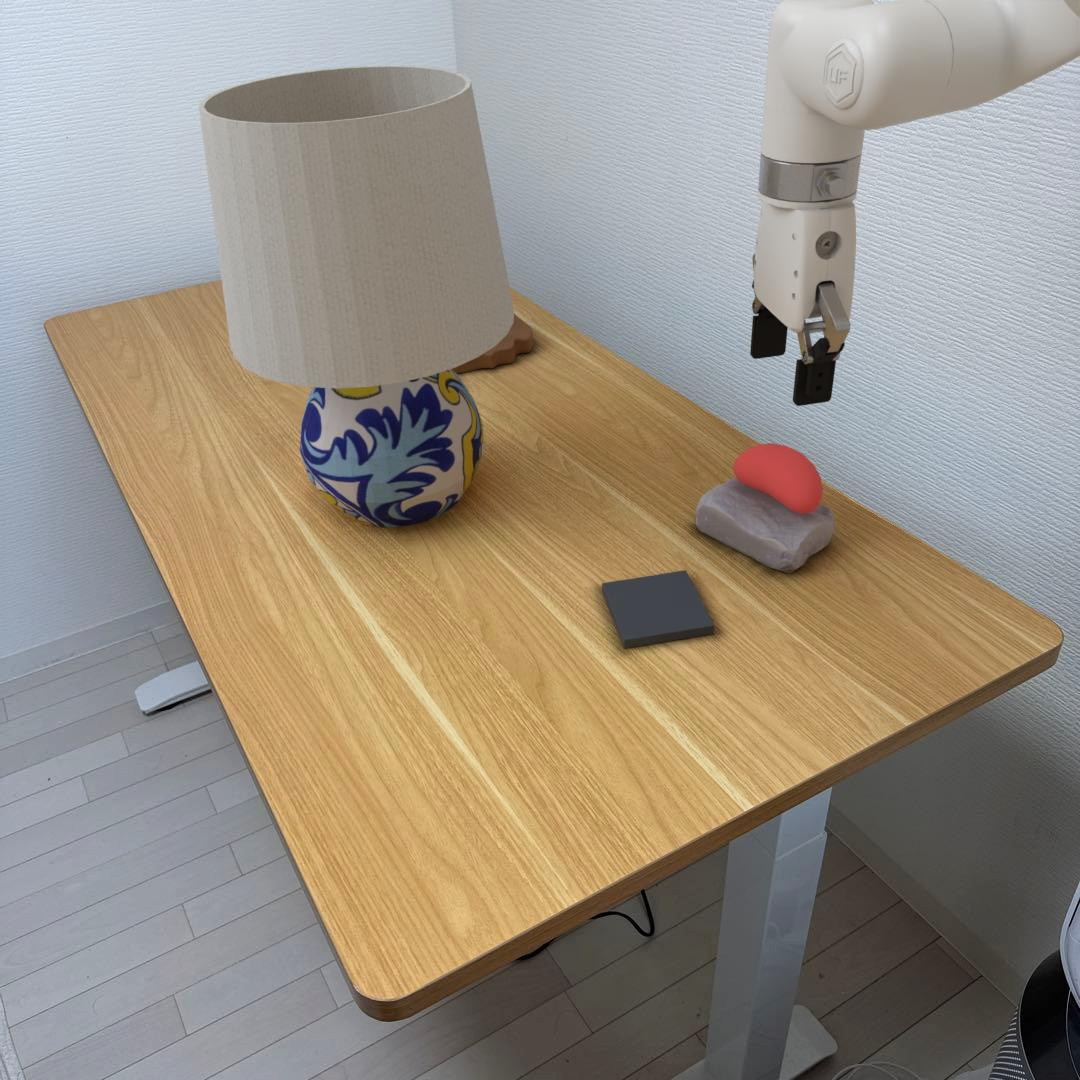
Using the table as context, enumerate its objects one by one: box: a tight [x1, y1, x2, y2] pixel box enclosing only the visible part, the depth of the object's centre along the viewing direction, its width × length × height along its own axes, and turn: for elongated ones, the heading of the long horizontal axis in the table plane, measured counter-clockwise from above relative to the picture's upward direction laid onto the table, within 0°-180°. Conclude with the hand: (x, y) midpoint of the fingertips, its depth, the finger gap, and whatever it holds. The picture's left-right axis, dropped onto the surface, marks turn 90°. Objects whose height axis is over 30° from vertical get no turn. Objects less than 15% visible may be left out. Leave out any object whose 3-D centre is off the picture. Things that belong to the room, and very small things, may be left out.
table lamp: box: [198, 64, 515, 529], centre depth 92 cm, size 27×27×40 cm
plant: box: [452, 313, 534, 374], centre depth 131 cm, size 20×20×11 cm
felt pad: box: [601, 570, 715, 649], centre depth 85 cm, size 8×8×1 cm
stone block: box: [694, 477, 836, 574], centre depth 94 cm, size 12×5×10 cm
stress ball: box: [732, 442, 824, 514], centre depth 91 cm, size 5×9×6 cm, turn 31°
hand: (788, 378), depth 84 cm, fingers open, 9 cm apart
